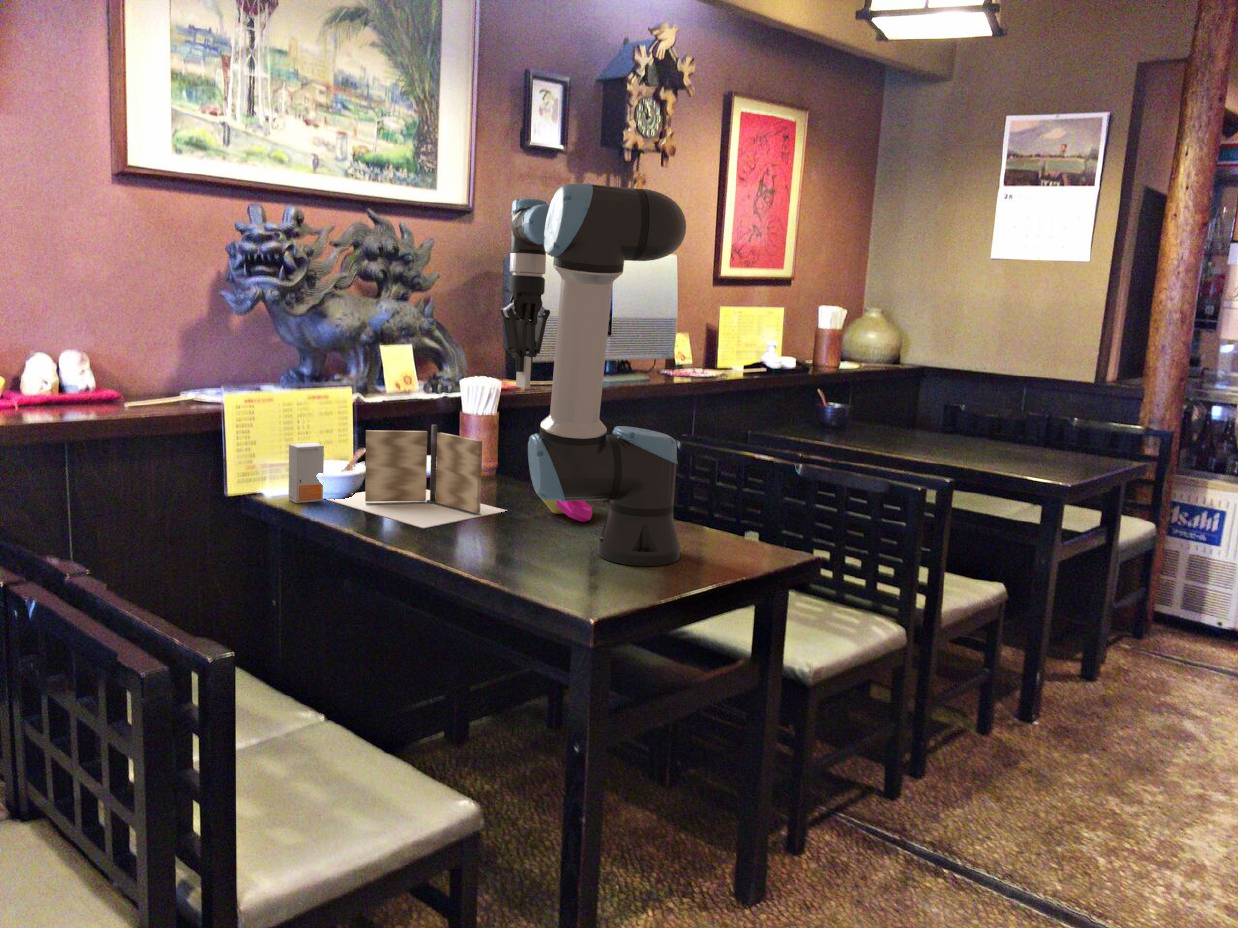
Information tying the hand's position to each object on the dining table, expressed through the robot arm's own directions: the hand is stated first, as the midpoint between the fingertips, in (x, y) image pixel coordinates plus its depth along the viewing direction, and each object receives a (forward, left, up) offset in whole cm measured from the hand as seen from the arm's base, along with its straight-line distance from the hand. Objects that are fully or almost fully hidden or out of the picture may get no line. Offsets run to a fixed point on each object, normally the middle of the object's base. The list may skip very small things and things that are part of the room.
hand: (522, 387), depth 214 cm
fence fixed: (+5, +14, -26) cm, 30 cm away
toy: (-13, -1, -26) cm, 29 cm away
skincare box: (+30, +33, -26) cm, 52 cm away
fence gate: (+16, +20, -25) cm, 36 cm away
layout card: (+13, +18, -26) cm, 34 cm away
